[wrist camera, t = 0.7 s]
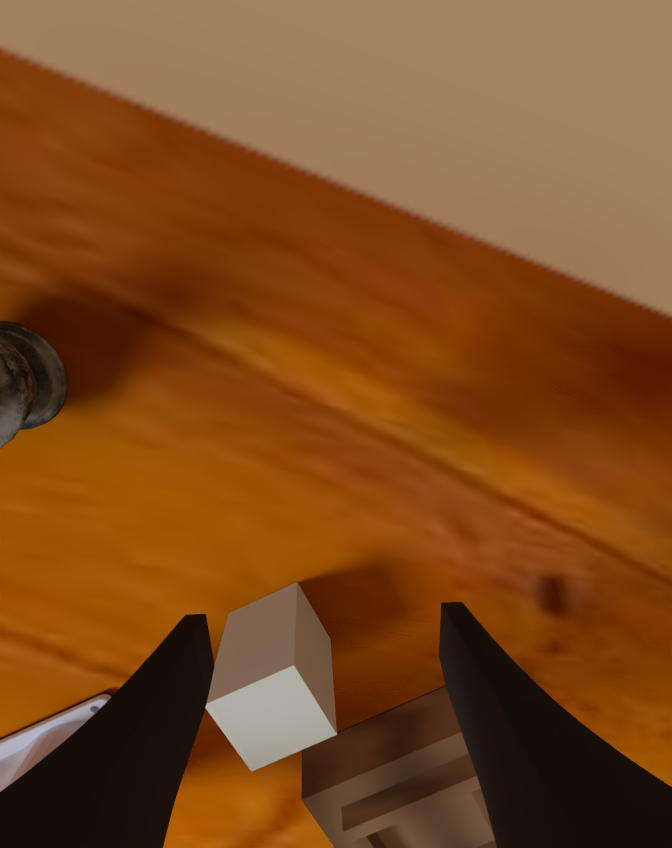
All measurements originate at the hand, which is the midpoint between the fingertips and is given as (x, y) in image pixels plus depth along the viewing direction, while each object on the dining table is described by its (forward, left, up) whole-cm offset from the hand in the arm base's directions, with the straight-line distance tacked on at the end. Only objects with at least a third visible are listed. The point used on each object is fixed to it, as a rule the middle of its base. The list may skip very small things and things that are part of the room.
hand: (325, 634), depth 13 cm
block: (-6, -7, -11) cm, 14 cm away
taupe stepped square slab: (-3, -22, -10) cm, 24 cm away
